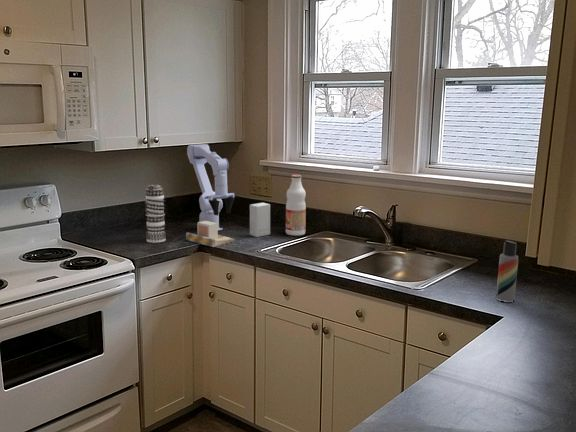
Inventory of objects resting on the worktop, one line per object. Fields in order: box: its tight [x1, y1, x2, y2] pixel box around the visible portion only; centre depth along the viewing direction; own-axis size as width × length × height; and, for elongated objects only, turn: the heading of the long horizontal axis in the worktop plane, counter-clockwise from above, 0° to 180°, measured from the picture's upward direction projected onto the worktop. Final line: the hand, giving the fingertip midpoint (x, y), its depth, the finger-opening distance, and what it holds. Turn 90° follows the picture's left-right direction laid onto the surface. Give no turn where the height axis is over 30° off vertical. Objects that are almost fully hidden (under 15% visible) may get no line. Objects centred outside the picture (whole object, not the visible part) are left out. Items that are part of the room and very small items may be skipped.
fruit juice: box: [285, 174, 307, 236], centre depth 277 cm, size 9×9×28 cm
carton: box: [196, 221, 219, 239], centre depth 262 cm, size 5×8×7 cm, turn 49°
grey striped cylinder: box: [144, 183, 167, 244], centre depth 260 cm, size 9×9×25 cm
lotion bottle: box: [495, 240, 519, 301], centre depth 190 cm, size 6×6×20 cm
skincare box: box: [249, 202, 271, 238], centre depth 274 cm, size 8×6×15 cm
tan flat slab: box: [185, 232, 236, 248], centre depth 263 cm, size 18×14×3 cm
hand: (222, 214), depth 272 cm, fingers open, 7 cm apart
